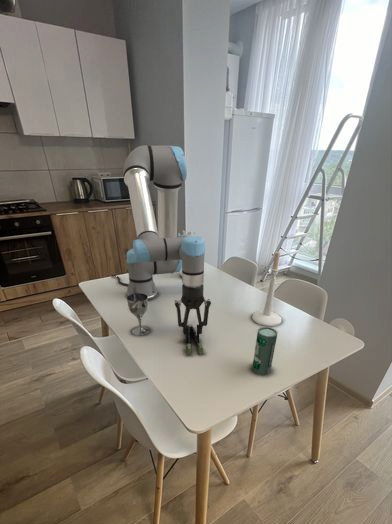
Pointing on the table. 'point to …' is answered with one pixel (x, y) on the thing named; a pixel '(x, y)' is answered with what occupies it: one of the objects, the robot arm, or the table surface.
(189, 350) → the tongs
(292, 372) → the table surface
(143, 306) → the wine glass
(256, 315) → the candlestick
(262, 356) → the can
